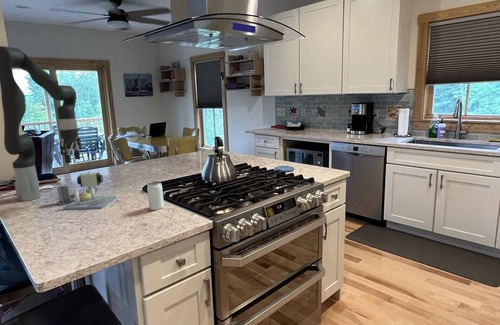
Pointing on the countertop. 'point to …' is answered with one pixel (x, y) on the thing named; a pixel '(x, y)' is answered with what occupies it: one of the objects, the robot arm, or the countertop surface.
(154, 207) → the can
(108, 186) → the countertop surface
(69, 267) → the countertop surface
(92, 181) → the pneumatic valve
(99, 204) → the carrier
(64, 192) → the planet gear
